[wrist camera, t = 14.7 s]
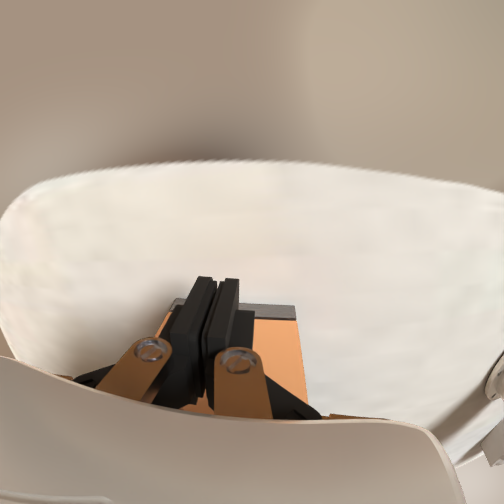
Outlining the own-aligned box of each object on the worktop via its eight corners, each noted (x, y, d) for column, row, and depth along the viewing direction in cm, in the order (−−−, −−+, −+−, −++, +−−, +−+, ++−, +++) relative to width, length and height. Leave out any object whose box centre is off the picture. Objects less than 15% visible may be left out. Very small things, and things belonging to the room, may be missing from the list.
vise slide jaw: (296, 320, 16) (311, 430, 9) (291, 356, 17) (299, 461, 10) (168, 312, 17) (116, 407, 9) (173, 347, 18) (134, 441, 10)
